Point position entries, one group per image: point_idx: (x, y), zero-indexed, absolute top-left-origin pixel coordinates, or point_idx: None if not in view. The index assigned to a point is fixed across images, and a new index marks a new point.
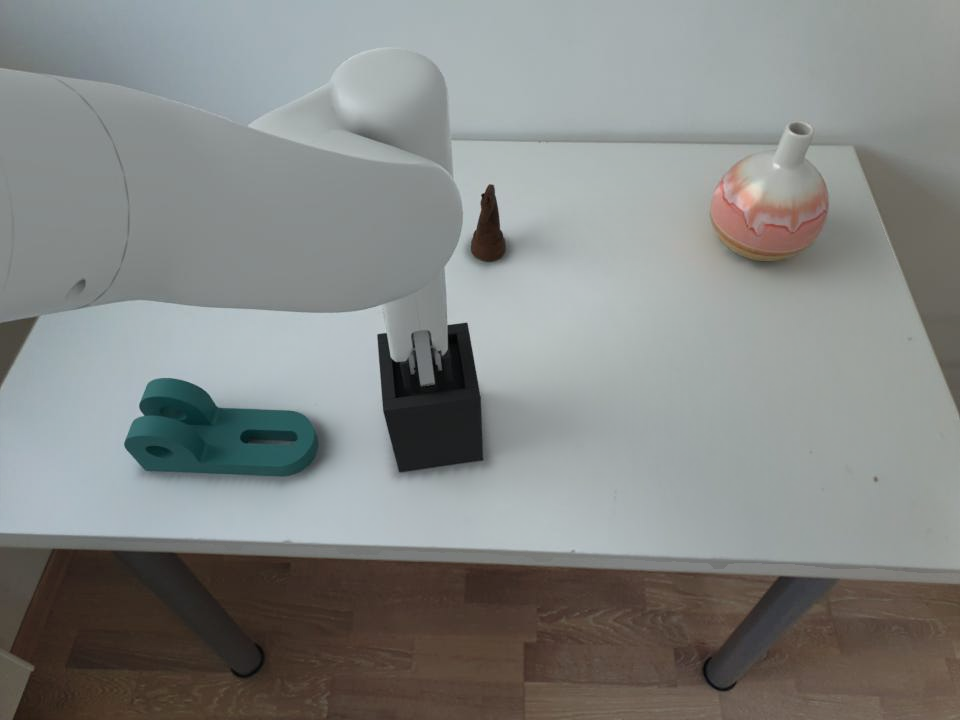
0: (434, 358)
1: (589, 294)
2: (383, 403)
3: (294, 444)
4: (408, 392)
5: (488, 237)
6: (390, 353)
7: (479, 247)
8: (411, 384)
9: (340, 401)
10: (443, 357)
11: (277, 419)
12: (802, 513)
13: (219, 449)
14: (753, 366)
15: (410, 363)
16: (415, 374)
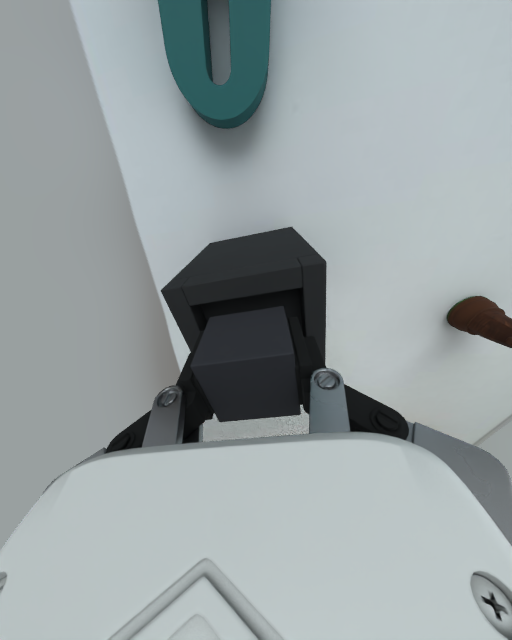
0: (213, 407)
1: (375, 376)
2: (174, 289)
3: (208, 81)
4: (222, 307)
5: (481, 328)
6: (21, 524)
7: (473, 312)
8: (195, 344)
9: (297, 152)
10: (217, 416)
11: (251, 21)
12: (218, 434)
13: None
14: (299, 432)
15: (150, 423)
16: (115, 440)
